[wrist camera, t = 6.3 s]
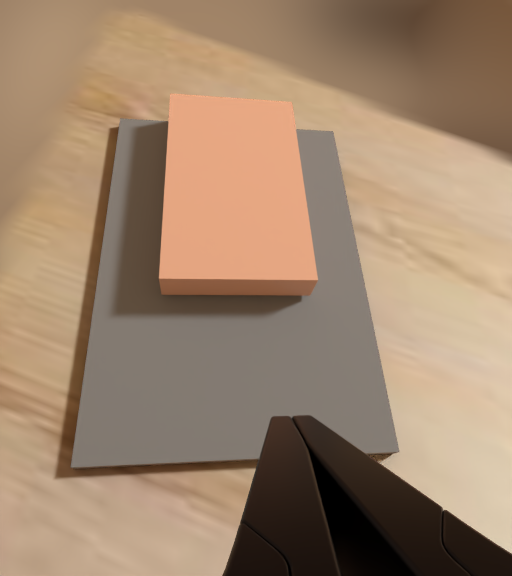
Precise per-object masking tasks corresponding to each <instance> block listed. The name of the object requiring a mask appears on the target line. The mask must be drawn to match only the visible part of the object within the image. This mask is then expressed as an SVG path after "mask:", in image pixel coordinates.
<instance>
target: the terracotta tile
mask: <svg viewBox="0 0 512 576" xmlns="http://www.w3.org/2000/svg"><path fill="white" fill-rule="evenodd" d="M317 281H318V276H317V269H316V263H315V256H314V249H313V242H312V235H311V229H310V222H309V215H308V208H307V201H306V194H305V188H304V181H303V174H302V167H301V160H300V154H299V147H298V140H297V133H296V126H295V120H294V113H293V106H292V102H283V101H269V100H255V99H241V98H226V97H212V96H198V95H183V94H170V107H169V123H168V139H167V155H166V172H165V188H164V204H163V220H162V236H161V253H160V269H159V282H160V288H161V294H162V295H293V296H310V295H311V293H312V291H313V289H314V287H315V285H316V283H317Z"/></svg>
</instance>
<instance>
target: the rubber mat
mask: <svg viewBox="0 0 512 576" xmlns="http://www.w3.org/2000/svg"><path fill="white" fill-rule="evenodd" d="M168 123H169V121H153V120H137V119H120V124H119V131H118V138H117V145H116V152H115V159H114V166H113V173H112V180H111V187H110V195H109V202H108V209H107V216H106V223H105V230H104V237H103V244H102V251H101V258H100V265H99V272H98V279H97V286H96V293H95V300H94V307H93V314H92V321H91V328H90V335H89V342H88V349H87V356H86V363H85V370H84V377H83V384H82V391H81V398H80V406H79V413H78V420H77V427H76V434H75V441H74V448H73V455H72V462H71V468H73V469H81V468H101V467H122V466H143V465H164V464H184V463H205V462H226V461H247V460H259V457H260V453H261V450H262V446H263V443H264V440H265V436H266V433H267V429H268V426H269V422H270V419H271V417H273V416H290V417H291V418H292V417H293V416H296V415H311V416H313V417H314V418H316V419H317V420H318V421H320V422H321V423H323V424H324V425H326V426H327V427H328V428H330V429H331V430H333V431H334V432H336V433H337V434H338V435H340V436H341V437H343V438H344V439H346V440H347V441H348V442H350V443H351V444H353V445H354V446H356V447H357V448H358V449H360V450H361V451H363V452H364V453H366V454H367V455H371V454H392V453H397V452H399V448H398V443H397V438H396V433H395V428H394V424H393V419H392V414H391V409H390V404H389V399H388V395H387V390H386V385H385V380H384V375H383V370H382V366H381V361H380V356H379V351H378V346H377V341H376V337H375V332H374V327H373V322H372V317H371V312H370V308H369V303H368V298H367V293H366V288H365V283H364V279H363V274H362V269H361V264H360V259H359V254H358V249H357V245H356V240H355V235H354V230H353V225H352V220H351V216H350V211H349V206H348V201H347V196H346V191H345V187H344V182H343V177H342V172H341V167H340V162H339V158H338V153H337V148H336V143H335V138H334V133H333V131H317V130H300V129H296V133H297V140H298V147H299V154H300V160H301V167H302V174H303V181H304V188H305V194H306V201H307V208H308V215H309V222H310V229H311V235H312V242H313V249H314V256H315V263H316V269H317V276H318V281H317V283H316V285H315V287H314V289H313V291H312V293H311V295H310V296H293V295H162V294H161V288H160V282H159V269H160V253H161V236H162V220H163V204H164V188H165V172H166V155H167V139H168Z"/></svg>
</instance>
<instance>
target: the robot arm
mask: <svg viewBox="0 0 512 576" xmlns="http://www.w3.org/2000/svg"><path fill="white" fill-rule="evenodd" d="M222 576H512V554H511V553H510V552H508V551H506V550H505V549H503V548H502V547H500V546H498V545H497V544H495V543H494V542H492V541H491V540H489V539H488V538H486V537H485V536H483V535H482V534H481V533H479V532H478V531H476V530H475V529H473V528H472V527H470V526H469V525H467V524H466V523H464V522H463V521H461V520H460V519H459V518H457V517H456V516H454V515H453V514H451V513H450V512H449V511H447V510H444V511H443V508H442V507H441V506H440V505H438V504H437V503H435V502H434V501H433V500H431V499H430V498H428V497H427V496H425V495H424V494H423V493H421V492H420V491H418V490H417V489H415V488H414V487H413V486H411V485H410V484H408V483H407V482H405V481H404V480H403V479H401V478H400V477H398V476H397V475H396V474H394V473H393V472H391V471H390V470H388V469H387V468H386V467H384V466H383V465H381V464H380V463H378V462H377V461H376V460H374V459H373V458H371V457H370V456H368V455H367V454H366V453H364V452H363V451H361V450H360V449H358V448H357V447H356V446H354V445H353V444H351V443H350V442H348V441H347V440H346V439H344V438H343V437H341V436H340V435H338V434H337V433H336V432H334V431H333V430H331V429H330V428H328V427H327V426H326V425H324V424H323V423H321V422H320V421H318V420H317V419H316V418H314V417H313V416H311V415H296V416H293V417H292V418H291V417H290V416H273V417H271V419H270V422H269V426H268V429H267V433H266V436H265V440H264V443H263V446H262V450H261V453H260V457H259V460H258V464H257V467H256V471H255V474H254V477H253V481H252V484H251V488H250V491H249V495H248V498H247V502H246V505H245V508H244V512H243V515H242V519H241V522H240V525H239V528H238V531H237V535H236V538H235V542H234V545H233V548H232V551H231V554H230V556H229V559H228V562H227V565H226V568H225V571H224V573H223V575H222Z"/></svg>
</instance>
